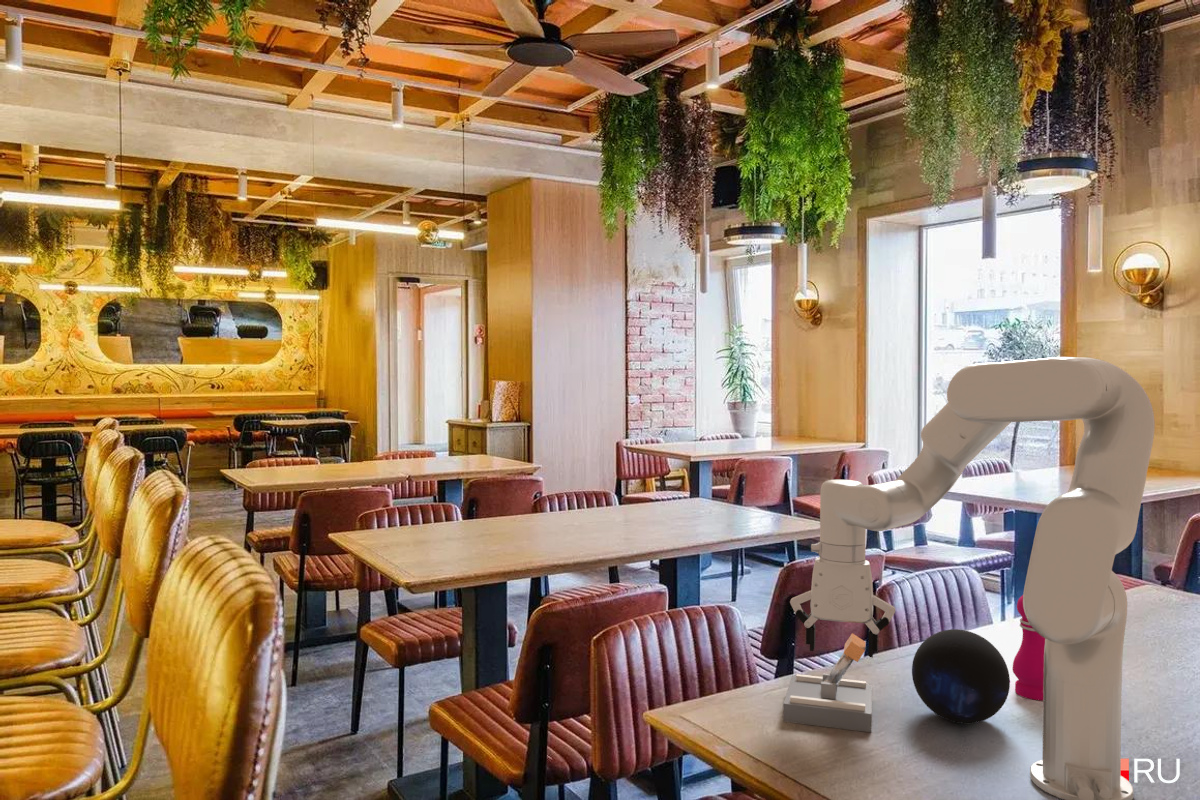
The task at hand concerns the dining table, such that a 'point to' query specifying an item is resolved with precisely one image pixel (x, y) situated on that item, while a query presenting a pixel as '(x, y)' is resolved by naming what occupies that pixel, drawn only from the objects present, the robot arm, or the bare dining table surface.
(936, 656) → the decorative sphere
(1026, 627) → the pepper mill
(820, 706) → the switch panel
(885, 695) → the dining table surface
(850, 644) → the lever
